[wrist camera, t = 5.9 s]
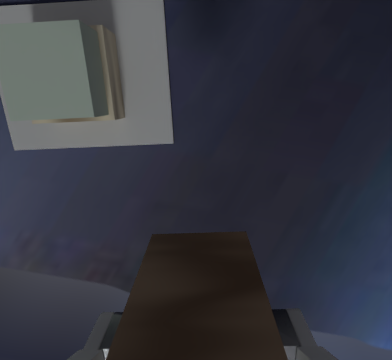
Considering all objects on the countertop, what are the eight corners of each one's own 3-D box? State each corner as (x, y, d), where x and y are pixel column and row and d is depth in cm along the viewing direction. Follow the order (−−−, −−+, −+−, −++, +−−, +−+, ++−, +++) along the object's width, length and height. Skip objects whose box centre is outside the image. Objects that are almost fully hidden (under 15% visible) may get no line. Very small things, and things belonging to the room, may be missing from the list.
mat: (163, -3, 25) (162, -5, 25) (173, 142, 29) (173, 143, 29) (-19, 8, 26) (-22, 7, 25) (16, 149, 30) (14, 150, 29)
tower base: (115, 34, 26) (102, 24, 22) (125, 117, 28) (114, 120, 25) (35, 39, 26) (11, 29, 23) (52, 121, 28) (32, 123, 25)
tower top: (97, 31, 22) (78, 19, 19) (108, 114, 25) (94, 117, 21) (18, 36, 23) (-14, 25, 19) (36, 118, 25) (10, 121, 21)
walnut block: (246, 231, 12) (314, 443, 5) (245, 307, 14) (298, 569, 6) (152, 234, 13) (74, 442, 5) (160, 309, 14) (109, 566, 6)
